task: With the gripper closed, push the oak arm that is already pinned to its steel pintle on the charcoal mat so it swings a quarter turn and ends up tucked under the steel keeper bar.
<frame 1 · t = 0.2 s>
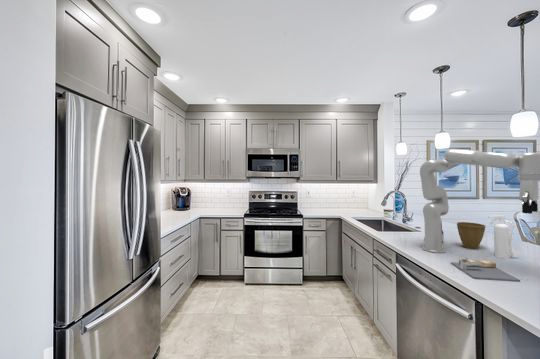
hand: (530, 212, 116), 31 cm above the countertop, tool pointing down, fingers open, 9 cm apart
steel keeper: (463, 270, 121), resting on charcoal mat
white bottle: (503, 257, 140), on the countertop
plant pot: (470, 247, 159), on the countertop
oak link: (477, 262, 125), point 3 cm above the countertop, hinge at 90.0°
spread jar: (433, 241, 177), on the countertop
charcoal mat: (482, 271, 120), on the countertop
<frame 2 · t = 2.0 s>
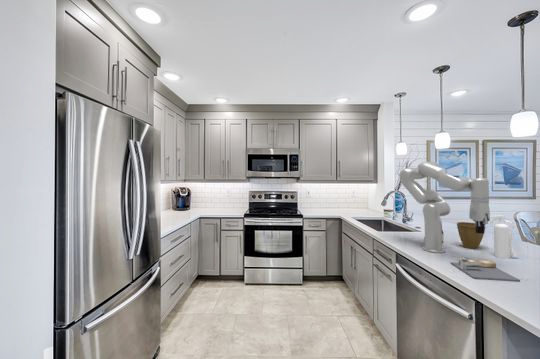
hand: (480, 233, 131), 17 cm above the countertop, tool pointing down, fingers closed
nothing on the countertop moved.
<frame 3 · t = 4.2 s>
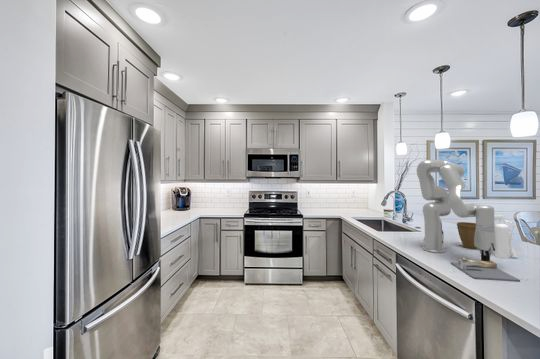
hand: (485, 262, 127), 2 cm above the countertop, tool pointing down, fingers closed
oak link: (477, 262, 125), point 3 cm above the countertop, hinge at 87.8°, touching gripper
everything else where it was.
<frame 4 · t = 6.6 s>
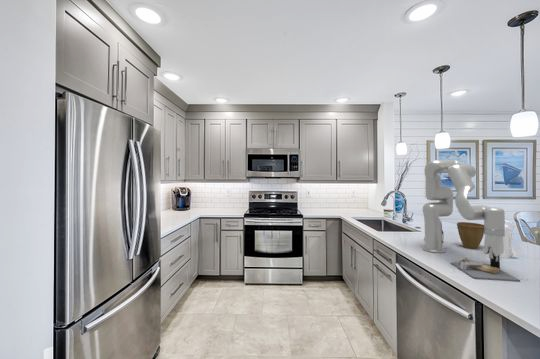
hand: (495, 268, 118), 2 cm above the countertop, tool pointing down, fingers closed
oak link: (478, 264, 121), point 3 cm above the countertop, hinge at 39.7°, touching gripper
everything else where it was.
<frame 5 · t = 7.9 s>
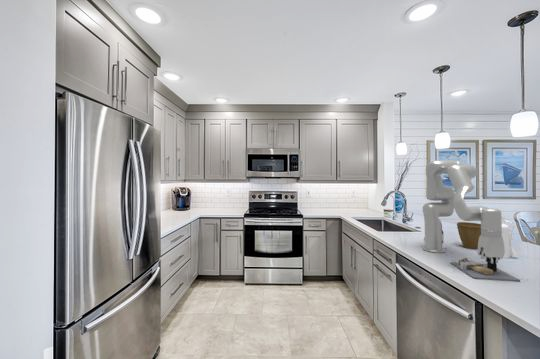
hand: (492, 270, 116), 2 cm above the countertop, tool pointing down, fingers closed
oak link: (474, 265, 121), point 3 cm above the countertop, hinge at 15.5°, touching gripper
everything else where it was.
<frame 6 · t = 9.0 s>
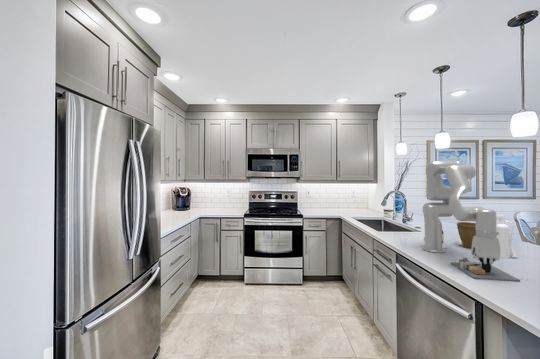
hand: (486, 271, 115), 2 cm above the countertop, tool pointing down, fingers closed
oak link: (471, 265, 121), point 3 cm above the countertop, hinge at -2.4°, touching gripper
everything else where it was.
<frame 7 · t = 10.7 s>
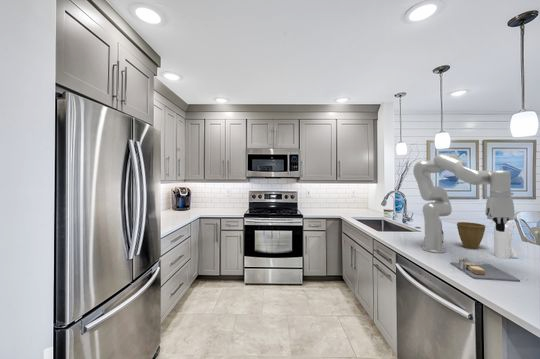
hand: (500, 231, 119), 21 cm above the countertop, tool pointing down, fingers closed
oak link: (471, 265, 121), point 3 cm above the countertop, hinge at -2.2°
everything else where it was.
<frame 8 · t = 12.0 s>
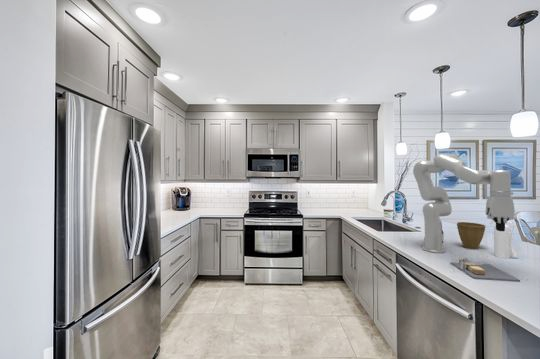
hand: (500, 230, 119), 21 cm above the countertop, tool pointing down, fingers closed
nothing on the countertop moved.
at the end: oak link at -2° (first picture: +90°); white bottle moved 0.2 cm from its start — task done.
